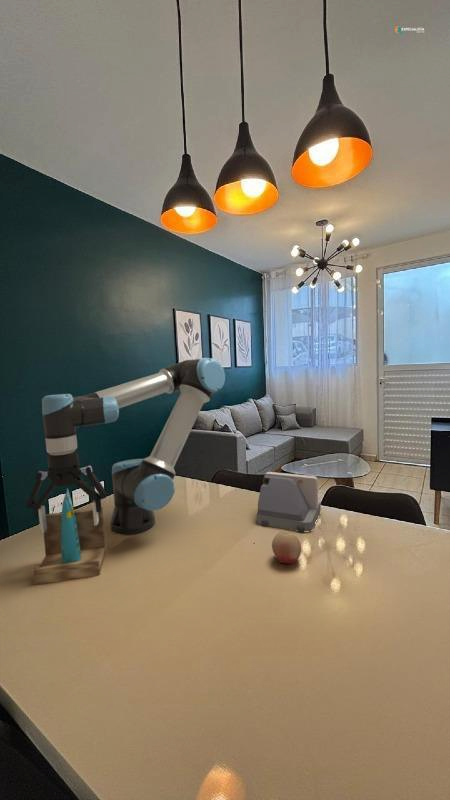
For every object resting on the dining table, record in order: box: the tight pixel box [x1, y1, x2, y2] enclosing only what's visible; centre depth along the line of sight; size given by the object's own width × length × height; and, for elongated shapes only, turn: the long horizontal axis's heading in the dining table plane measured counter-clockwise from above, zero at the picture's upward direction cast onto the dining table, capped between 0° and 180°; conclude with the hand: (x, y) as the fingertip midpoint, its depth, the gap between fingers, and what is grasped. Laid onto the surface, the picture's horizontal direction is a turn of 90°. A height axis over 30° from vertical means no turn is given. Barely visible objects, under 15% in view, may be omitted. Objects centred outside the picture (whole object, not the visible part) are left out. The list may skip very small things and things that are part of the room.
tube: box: [61, 487, 81, 564], centre depth 94 cm, size 7×5×19 cm, turn 26°
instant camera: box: [256, 471, 322, 532], centre depth 120 cm, size 21×21×15 cm
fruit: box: [271, 530, 302, 565], centre depth 93 cm, size 8×8×8 cm
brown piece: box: [32, 507, 107, 586], centre depth 94 cm, size 16×12×14 cm
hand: (70, 527), depth 94 cm, fingers open, 13 cm apart
